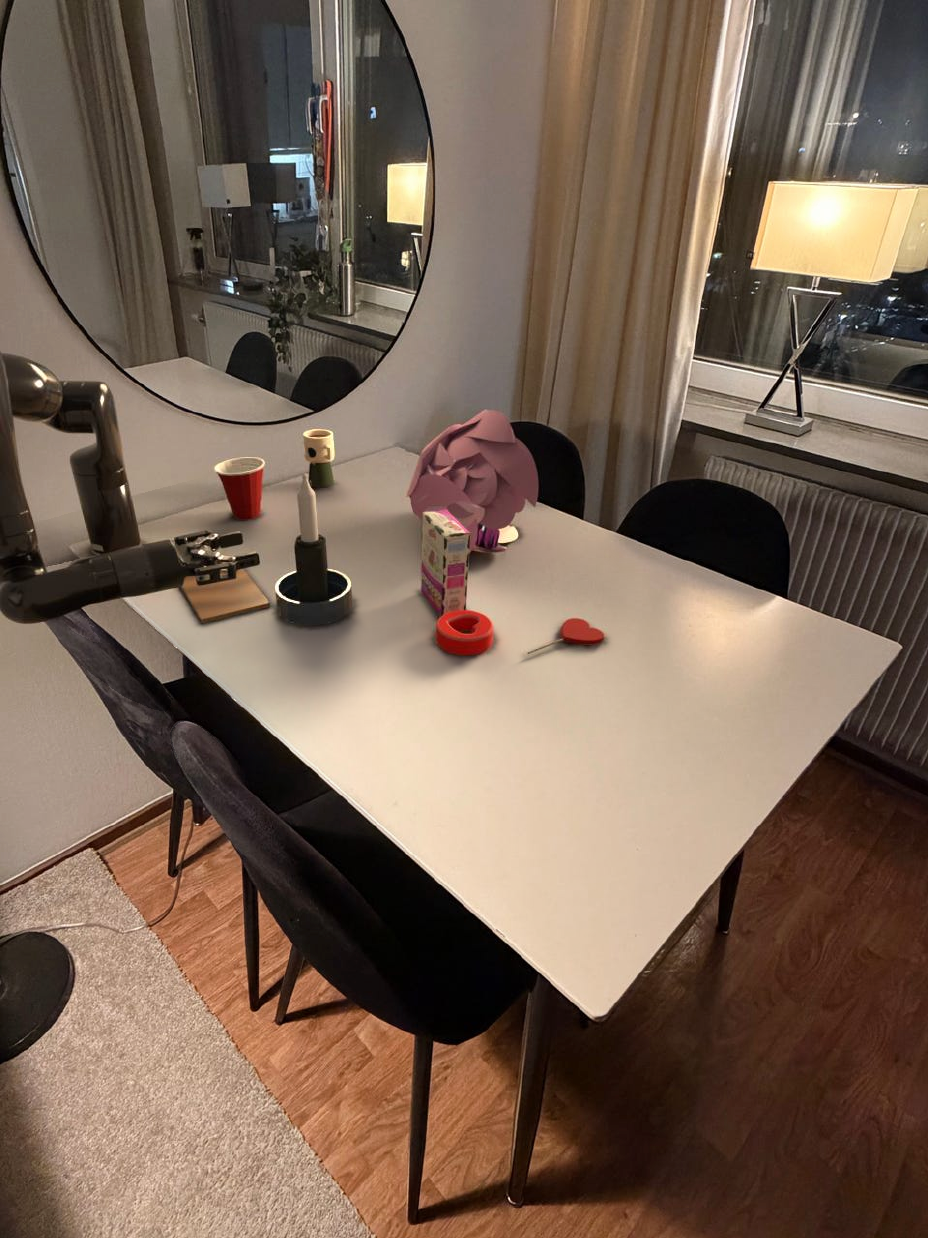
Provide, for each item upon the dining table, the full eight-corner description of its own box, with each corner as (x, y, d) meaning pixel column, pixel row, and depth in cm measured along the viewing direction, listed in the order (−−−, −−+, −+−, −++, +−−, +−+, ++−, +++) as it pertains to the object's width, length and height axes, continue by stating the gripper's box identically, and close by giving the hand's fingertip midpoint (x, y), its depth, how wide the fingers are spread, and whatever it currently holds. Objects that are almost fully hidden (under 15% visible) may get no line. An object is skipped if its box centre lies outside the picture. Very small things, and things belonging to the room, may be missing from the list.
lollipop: (543, 667, 119) (609, 640, 127) (544, 662, 119) (610, 635, 126) (512, 644, 125) (577, 619, 132) (512, 639, 124) (577, 614, 132)
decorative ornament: (432, 626, 129) (432, 611, 127) (485, 622, 130) (486, 607, 129) (441, 657, 121) (441, 641, 119) (498, 652, 122) (499, 637, 121)
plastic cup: (232, 503, 171) (225, 453, 164) (277, 507, 170) (272, 457, 163) (212, 522, 161) (204, 469, 155) (259, 526, 160) (253, 474, 154)
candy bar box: (467, 616, 132) (471, 532, 123) (441, 621, 130) (444, 536, 122) (444, 587, 141) (446, 507, 132) (419, 591, 139) (420, 511, 130)
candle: (302, 598, 134) (290, 468, 121) (330, 598, 135) (321, 468, 122) (299, 613, 130) (286, 479, 117) (328, 613, 131) (319, 479, 117)
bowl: (267, 599, 134) (264, 577, 132) (334, 582, 140) (332, 561, 138) (293, 633, 125) (291, 611, 123) (364, 614, 131) (363, 592, 129)
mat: (173, 574, 141) (172, 571, 140) (235, 561, 146) (234, 557, 146) (202, 623, 127) (201, 619, 126) (269, 606, 132) (269, 602, 132)
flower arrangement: (551, 568, 160) (594, 442, 147) (477, 582, 143) (518, 442, 130) (444, 503, 179) (474, 387, 166) (368, 509, 162) (395, 381, 150)
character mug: (298, 480, 184) (293, 429, 177) (323, 475, 188) (320, 425, 181) (319, 495, 177) (315, 442, 170) (345, 489, 181) (342, 437, 174)
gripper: (152, 566, 106) (262, 543, 113) (131, 529, 116) (234, 510, 123) (161, 611, 110) (267, 586, 117) (140, 571, 120) (239, 550, 127)
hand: (250, 547), depth 120 cm, fingers open, 8 cm apart
